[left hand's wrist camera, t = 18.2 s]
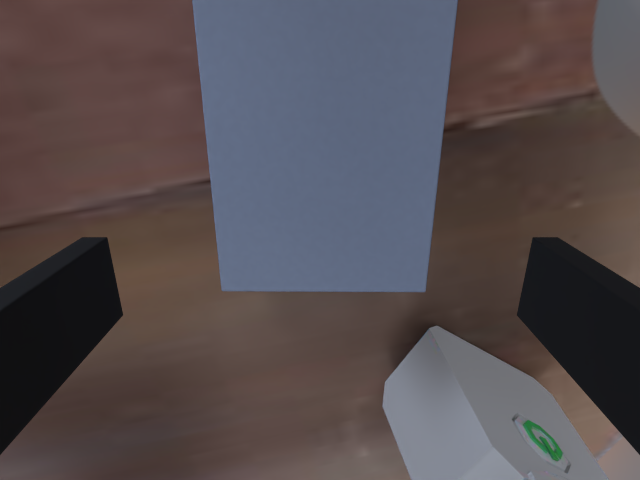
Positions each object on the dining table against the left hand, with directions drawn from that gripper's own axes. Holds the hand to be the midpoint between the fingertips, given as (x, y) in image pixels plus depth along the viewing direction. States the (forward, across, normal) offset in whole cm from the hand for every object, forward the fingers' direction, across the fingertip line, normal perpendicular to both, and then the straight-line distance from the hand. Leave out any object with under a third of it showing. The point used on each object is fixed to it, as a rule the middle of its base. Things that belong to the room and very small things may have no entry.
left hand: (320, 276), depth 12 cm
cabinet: (+16, 0, -7) cm, 17 cm away
